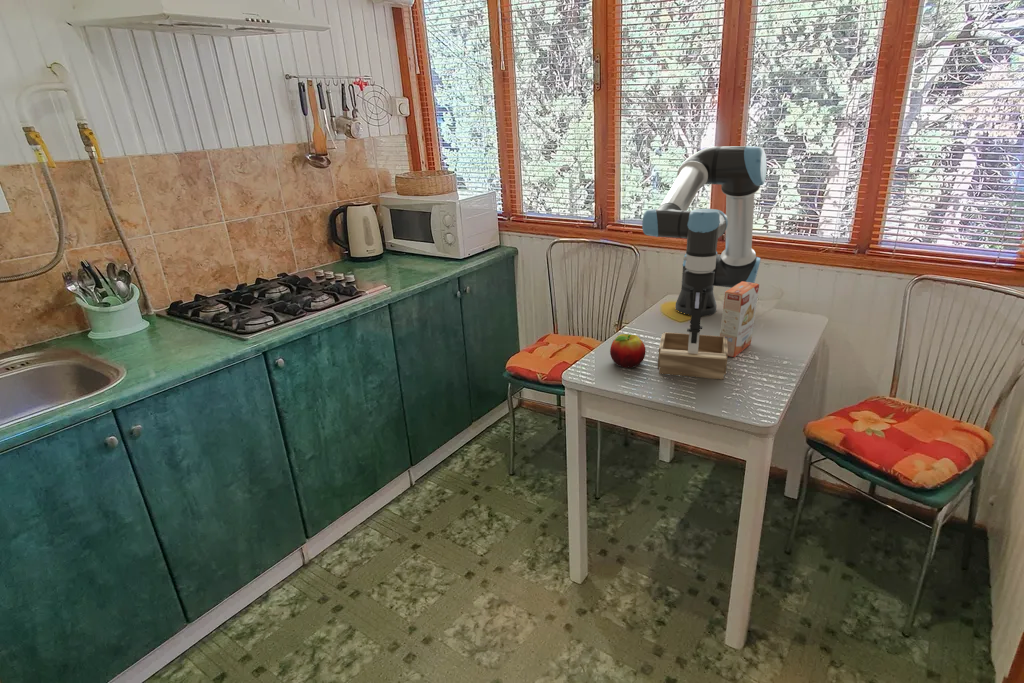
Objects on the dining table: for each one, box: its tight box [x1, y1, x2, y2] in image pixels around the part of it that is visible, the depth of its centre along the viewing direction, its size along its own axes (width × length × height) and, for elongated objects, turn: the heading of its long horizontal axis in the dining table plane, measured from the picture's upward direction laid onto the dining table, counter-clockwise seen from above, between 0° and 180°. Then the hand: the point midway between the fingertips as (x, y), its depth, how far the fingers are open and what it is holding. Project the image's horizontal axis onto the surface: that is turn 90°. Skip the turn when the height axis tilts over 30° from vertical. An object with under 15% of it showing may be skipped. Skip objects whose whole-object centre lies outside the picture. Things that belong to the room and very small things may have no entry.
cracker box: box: [719, 281, 760, 358], centre depth 179 cm, size 14×6×21 cm, turn 138°
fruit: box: [609, 333, 647, 369], centre depth 174 cm, size 11×11×10 cm
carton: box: [657, 331, 729, 381], centre depth 170 cm, size 14×19×8 cm
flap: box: [660, 349, 728, 361], centre depth 159 cm, size 7×18×1 cm, turn 72°
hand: (692, 352), depth 157 cm, fingers closed
